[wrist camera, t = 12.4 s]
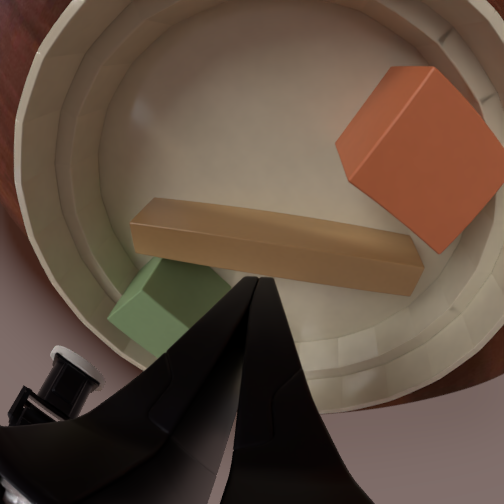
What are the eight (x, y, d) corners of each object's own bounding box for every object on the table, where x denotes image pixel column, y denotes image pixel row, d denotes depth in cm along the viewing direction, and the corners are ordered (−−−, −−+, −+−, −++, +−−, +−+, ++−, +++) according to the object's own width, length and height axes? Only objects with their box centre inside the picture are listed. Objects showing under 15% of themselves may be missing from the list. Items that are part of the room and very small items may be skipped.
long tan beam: (399, 262, 13) (410, 297, 11) (157, 225, 14) (135, 253, 12) (410, 235, 12) (425, 267, 10) (154, 196, 13) (128, 222, 11)
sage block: (188, 312, 17) (165, 364, 14) (139, 270, 16) (106, 319, 13) (232, 286, 15) (212, 346, 12) (177, 235, 14) (140, 289, 11)
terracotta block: (407, 200, 11) (439, 256, 8) (333, 143, 10) (346, 181, 7) (461, 133, 8) (517, 167, 5) (390, 65, 8) (434, 64, 5)
